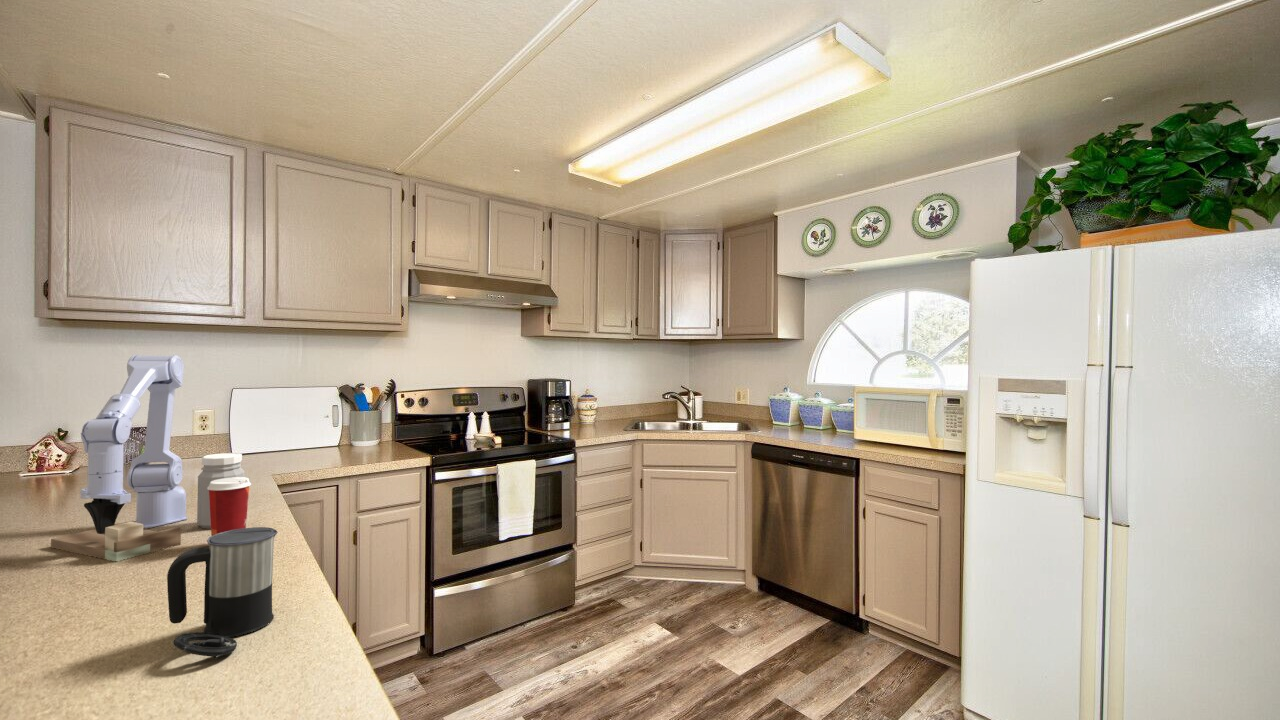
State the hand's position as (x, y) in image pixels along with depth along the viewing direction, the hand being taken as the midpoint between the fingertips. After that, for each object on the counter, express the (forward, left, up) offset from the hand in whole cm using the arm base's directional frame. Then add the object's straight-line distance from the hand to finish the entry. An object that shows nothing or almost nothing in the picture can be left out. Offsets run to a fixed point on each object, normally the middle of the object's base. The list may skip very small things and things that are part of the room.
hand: (104, 532), depth 121 cm
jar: (-23, +3, -4) cm, 23 cm away
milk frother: (+16, +65, -4) cm, 67 cm away
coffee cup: (-13, +21, -4) cm, 25 cm away
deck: (-3, -1, -4) cm, 5 cm away
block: (0, +7, -2) cm, 8 cm away
